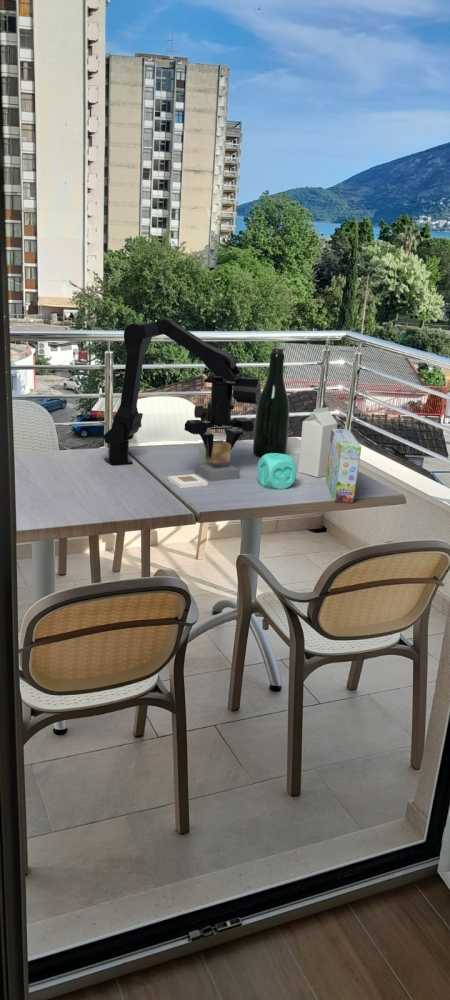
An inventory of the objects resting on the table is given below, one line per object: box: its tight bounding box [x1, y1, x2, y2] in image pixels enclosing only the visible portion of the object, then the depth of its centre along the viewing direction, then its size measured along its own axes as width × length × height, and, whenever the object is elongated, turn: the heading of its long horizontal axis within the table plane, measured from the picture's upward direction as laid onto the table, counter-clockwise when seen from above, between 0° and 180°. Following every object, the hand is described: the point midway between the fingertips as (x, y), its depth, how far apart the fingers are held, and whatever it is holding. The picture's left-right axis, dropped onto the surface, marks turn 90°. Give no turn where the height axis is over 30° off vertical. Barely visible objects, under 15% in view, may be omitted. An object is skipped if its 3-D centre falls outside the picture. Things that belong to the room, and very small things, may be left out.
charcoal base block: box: [194, 462, 241, 482], centre depth 208 cm, size 9×9×3 cm
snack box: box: [325, 428, 362, 504], centre depth 198 cm, size 21×6×15 cm, turn 179°
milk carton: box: [297, 406, 338, 478], centre depth 214 cm, size 7×7×19 cm
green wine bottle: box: [252, 347, 290, 458], centre depth 229 cm, size 10×10×33 cm
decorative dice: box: [256, 453, 297, 490], centre depth 201 cm, size 8×8×8 cm
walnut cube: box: [206, 439, 232, 463], centre depth 206 cm, size 5×5×5 cm
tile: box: [167, 473, 209, 489], centre depth 199 cm, size 8×8×1 cm
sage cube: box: [198, 445, 212, 464], centre depth 219 cm, size 5×5×5 cm
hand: (217, 456), depth 206 cm, fingers open, 5 cm apart
